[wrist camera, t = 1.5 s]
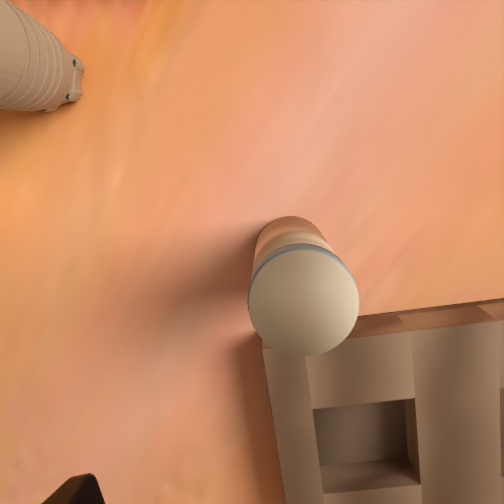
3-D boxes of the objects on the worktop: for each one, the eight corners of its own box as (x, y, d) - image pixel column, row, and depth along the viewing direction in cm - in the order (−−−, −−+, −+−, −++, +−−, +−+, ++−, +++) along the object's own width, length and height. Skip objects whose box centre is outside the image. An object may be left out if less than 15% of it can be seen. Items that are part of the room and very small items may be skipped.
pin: (322, 210, 21) (355, 243, 13) (330, 280, 22) (365, 350, 14) (249, 220, 21) (239, 259, 13) (259, 289, 22) (255, 364, 14)
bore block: (613, 284, 21) (658, 301, 19) (604, 483, 24) (642, 521, 21) (262, 328, 22) (262, 349, 20) (290, 513, 25) (293, 551, 23)
